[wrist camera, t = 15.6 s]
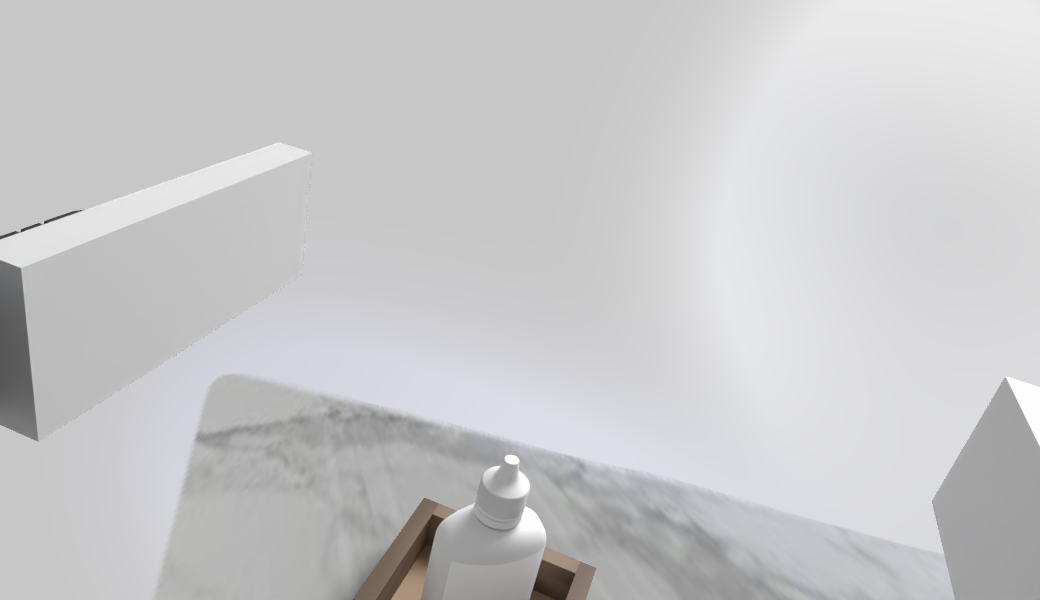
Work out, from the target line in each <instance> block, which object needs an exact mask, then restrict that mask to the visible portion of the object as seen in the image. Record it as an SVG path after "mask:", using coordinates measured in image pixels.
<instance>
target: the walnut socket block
mask: <svg viewBox="0 0 1040 600" xmlns="http://www.w3.org/2000/svg"><path fill="white" fill-rule="evenodd" d="M455 512H457V511H456V510H453V509H451V508H448V507H446V506H443V505H441V504H439V503H436V502H434V501H431V500H429V499H426V498H424V499H423V500H422V502H421V503H420V505H419V506H418V507H417V509H416V510H415V512H414V513H413V515H412V516H411V517H410V519H409V520H408V522H407V523H406V525H405V526H404V527H403V529H402V530H401V532H400V533H399V535H398V536H397V537H396V539H395V540H394V542H393V543H392V545H391V546H390V547H389V549H388V550H387V552H386V553H385V555H384V556H383V558H382V559H381V560H380V562H379V563H378V565H377V566H376V568H375V569H374V570H373V572H372V573H371V575H370V576H369V578H368V579H367V580H366V582H365V583H364V585H363V586H362V588H361V589H360V590H359V592H358V593H357V595H356V596H355V598H354V599H353V600H421V595H422V590H423V586H424V581H425V577H426V572H427V568H428V563H429V559H430V554H431V550H432V545H433V541H434V537H435V533H436V530H437V528H438V526H439V525H440V524H441V522H442V521H443V520H444V519H446V518H447V517H449V516H450V515H452V514H453V513H455ZM595 570H596V568H595V567H592V566H590V565H587V564H585V563H582V562H580V561H578V560H575V559H573V558H570V557H568V556H565V555H563V554H561V553H558V552H556V551H553V550H551V549H548V548H546V547H545V549H544V552H543V556H542V560H541V563H540V567H539V570H538V573H537V577H536V580H535V583H534V587H533V590H532V593H531V596H530V600H586V597H587V594H588V591H589V588H590V585H591V582H592V579H593V576H594V573H595Z"/></svg>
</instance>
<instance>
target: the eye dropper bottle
mask: <svg viewBox="0 0 1040 600" xmlns="http://www.w3.org/2000/svg"><path fill="white" fill-rule="evenodd" d="M529 491H530V483H529V481H528V479H527V478H526V477H525V475H523V474H522V473H521V472H520V471H519V459H518V458H517V457H516V456H514V455H507V456H506V457H505V458H504V460H503V462H502V464H501V466H495V467H492V468H489V469H488V470H486V471H485V472H484V473H483V475H482V477H481V481H480V485H479V489H478V493H477V498H476V502H475V504H472V505H469V506H467V507H465V508H463V509H460V510H459V511H457V512H455V513H453V514H452V515H450V516H449V517H447V518H446V519H444V520H443V521H442V522H441V524H440V525H439V526H438V528H437V530H436V533H435V537H434V541H433V545H432V550H431V554H430V559H429V563H428V568H427V572H426V577H425V581H424V586H423V590H422V595H421V600H530V596H531V593H532V590H533V587H534V583H535V580H536V577H537V573H538V570H539V567H540V563H541V560H542V556H543V552H544V549H545V545H546V532H545V529H544V527H543V525H542V523H541V521H540V519H539V518H538V516H537V515H536V513H535V512H534V511H532V510H531V509H529V508H527V507H525V506H526V502H527V499H528V495H529Z"/></svg>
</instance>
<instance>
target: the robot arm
mask: <svg viewBox="0 0 1040 600" xmlns="http://www.w3.org/2000/svg"><path fill="white" fill-rule="evenodd" d="M312 154H313V153H311V152H308V151H305V150H302V149H299V148H296V147H293V146H289V145H287V144H284V143H280V142H278V143H275V144H273V145H270V146H267V147H264V148H261V149H258V150H255V151H252V152H249V153H247V154H244V155H241V156H238V157H235V158H233V159H229V160H227V161H224V162H221V163H218V164H215V165H212V166H209V167H207V168H204V169H201V170H198V171H195V172H192V173H190V174H186V175H184V176H181V177H178V178H175V179H172V180H170V181H166V182H164V183H161V184H158V185H155V186H152V187H149V188H146V189H144V190H141V191H138V192H135V193H132V194H129V195H126V196H124V197H121V198H118V199H115V200H112V201H109V202H106V203H103V204H101V205H98V206H95V207H92V208H89V209H86V210H80V211H73V212H70V213H67V214H64V215H61V216H58V217H56V218H52V219H49V220H47V221H44V224H40V223H38V224H35V225H32V226H29V227H26V228H24V229H21V232H20V233H19V232H16V231H15V232H12V233H9V234H6V235H3V236H0V425H2V426H4V427H6V428H9V429H11V430H13V431H16V432H18V433H20V434H22V435H25V436H27V437H29V438H31V439H33V440H36V441H40V440H42V439H43V438H45V437H46V436H48V435H50V434H51V433H53V432H55V431H56V430H58V429H59V428H61V427H62V426H64V425H66V424H67V423H69V422H70V421H72V420H74V419H75V418H77V417H78V416H80V415H81V414H83V413H85V412H86V411H88V410H89V409H91V408H93V407H94V406H96V405H97V404H99V403H100V402H102V401H104V400H105V399H107V398H108V397H110V396H112V395H113V394H115V393H116V392H118V391H120V390H121V389H123V388H124V387H126V386H127V385H129V384H130V383H132V382H134V381H135V380H137V379H138V378H140V377H142V376H143V375H145V374H146V373H148V372H149V371H151V370H153V369H154V368H156V367H158V366H159V365H161V364H162V363H164V362H165V361H167V360H168V359H170V358H171V357H173V356H175V355H177V354H178V353H180V352H181V351H183V350H184V349H186V348H188V347H189V346H191V345H192V344H194V343H195V342H197V341H199V340H200V339H202V338H203V337H205V336H207V335H208V334H210V333H211V332H213V331H214V330H216V329H218V328H219V327H221V326H222V325H224V324H225V323H227V322H229V321H230V320H231V319H233V318H235V317H236V316H238V315H240V314H241V313H243V312H245V311H246V310H248V309H249V308H251V307H252V306H254V305H256V304H257V303H259V302H260V301H262V300H264V299H265V298H267V297H268V296H270V295H271V294H273V293H275V292H276V291H278V290H279V289H281V288H282V287H284V286H286V285H287V284H289V283H291V282H292V281H294V280H295V279H297V278H298V277H300V276H302V271H303V259H304V247H305V236H306V224H307V212H308V200H309V189H310V177H311V165H312ZM932 504H933V508H934V512H935V516H936V521H937V525H938V529H939V533H940V537H941V541H942V546H943V550H944V554H945V558H946V562H947V567H948V571H949V575H950V579H951V583H952V587H953V592H954V596H955V600H1040V387H1037V386H1034V385H1031V384H1028V383H1025V382H1022V381H1019V380H1015V379H1012V378H1009V377H1005V378H1004V380H1003V382H1002V383H1001V385H1000V387H999V388H998V390H997V392H996V394H995V395H994V397H993V399H992V400H991V402H990V404H989V405H988V407H987V409H986V410H985V412H984V414H983V415H982V417H981V419H980V421H979V422H978V424H977V426H976V427H975V429H974V431H973V433H972V434H971V436H970V438H969V439H968V441H967V443H966V444H965V446H964V448H963V449H962V451H961V453H960V454H959V456H958V458H957V460H956V461H955V463H954V465H953V466H952V468H951V470H950V471H949V473H948V475H947V476H946V478H945V480H944V482H943V483H942V485H941V487H940V488H939V490H938V492H937V493H936V495H935V497H934V499H933V500H932Z"/></svg>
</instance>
